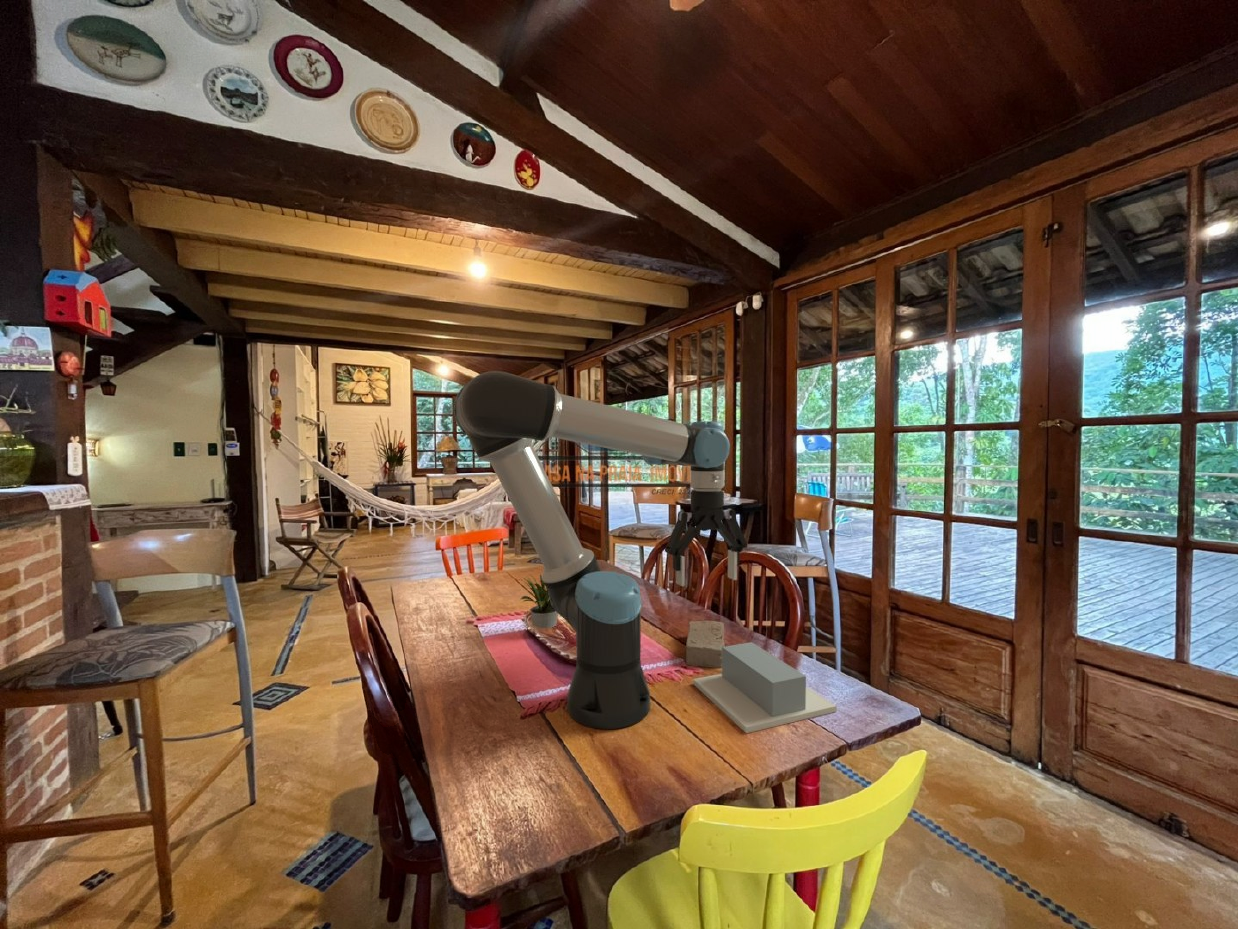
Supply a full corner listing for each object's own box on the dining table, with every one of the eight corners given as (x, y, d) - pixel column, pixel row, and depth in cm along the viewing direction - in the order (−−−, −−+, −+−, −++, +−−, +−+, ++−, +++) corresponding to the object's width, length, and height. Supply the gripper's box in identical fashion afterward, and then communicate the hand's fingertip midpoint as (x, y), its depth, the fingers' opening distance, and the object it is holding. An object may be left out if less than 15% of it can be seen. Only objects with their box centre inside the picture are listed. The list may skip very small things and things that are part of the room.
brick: (724, 669, 106) (724, 648, 106) (685, 666, 108) (685, 645, 108) (723, 640, 122) (723, 621, 122) (689, 637, 124) (689, 619, 124)
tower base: (746, 733, 82) (746, 691, 82) (693, 684, 99) (693, 649, 99) (836, 711, 89) (837, 673, 89) (772, 668, 106) (772, 636, 105)
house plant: (517, 650, 116) (516, 580, 115) (507, 629, 128) (506, 567, 128) (575, 640, 121) (575, 574, 120) (560, 622, 134) (560, 561, 133)
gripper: (664, 493, 106) (664, 591, 106) (763, 488, 114) (762, 580, 115) (650, 490, 113) (650, 582, 113) (744, 486, 121) (743, 572, 122)
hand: (706, 581), depth 114 cm, fingers open, 13 cm apart
